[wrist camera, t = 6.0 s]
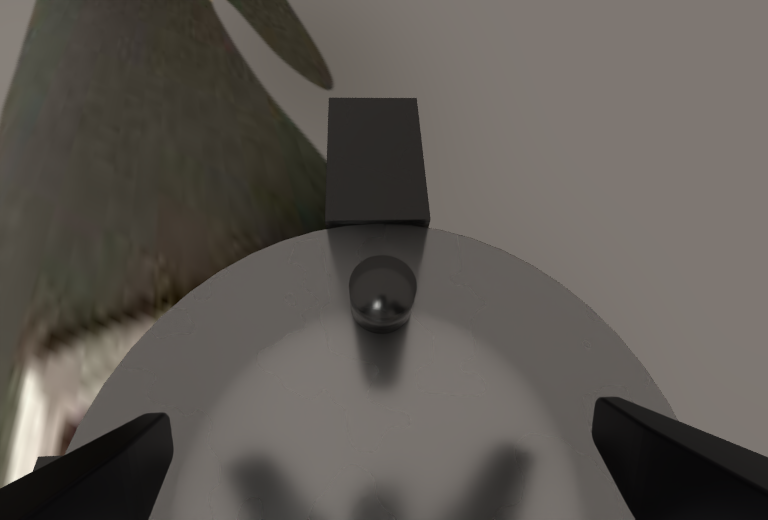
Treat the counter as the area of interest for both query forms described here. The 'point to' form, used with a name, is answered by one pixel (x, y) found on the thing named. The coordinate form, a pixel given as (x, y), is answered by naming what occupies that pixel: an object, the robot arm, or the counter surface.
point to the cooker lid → (378, 366)
